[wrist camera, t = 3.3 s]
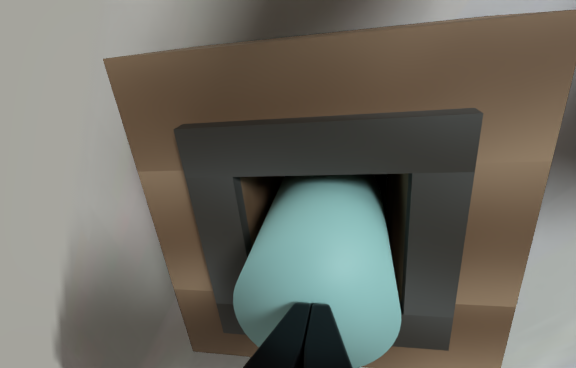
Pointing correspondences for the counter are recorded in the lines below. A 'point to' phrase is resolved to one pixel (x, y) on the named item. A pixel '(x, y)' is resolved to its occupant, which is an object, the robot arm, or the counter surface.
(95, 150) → the counter surface
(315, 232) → the peg
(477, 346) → the socket block
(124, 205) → the counter surface
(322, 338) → the robot arm
